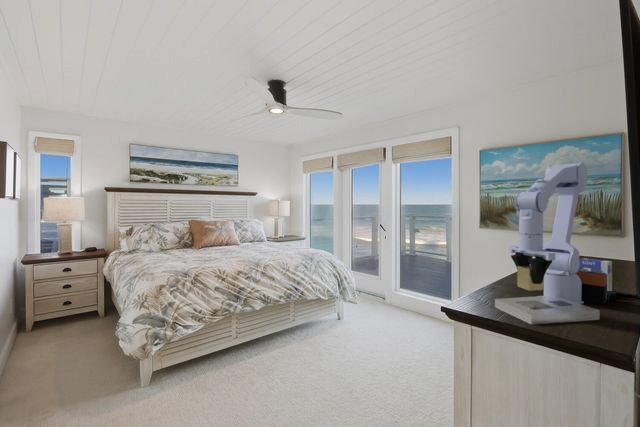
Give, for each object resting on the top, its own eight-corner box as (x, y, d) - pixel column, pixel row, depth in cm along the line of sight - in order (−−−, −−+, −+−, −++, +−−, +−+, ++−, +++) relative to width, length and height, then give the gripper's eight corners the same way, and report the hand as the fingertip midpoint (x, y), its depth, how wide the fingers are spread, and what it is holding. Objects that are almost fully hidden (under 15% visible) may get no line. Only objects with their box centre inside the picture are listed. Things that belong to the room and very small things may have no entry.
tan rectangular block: (531, 285, 94) (531, 265, 94) (544, 289, 89) (544, 268, 89) (517, 286, 93) (517, 265, 93) (529, 290, 89) (529, 268, 89)
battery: (604, 305, 97) (604, 272, 96) (576, 300, 102) (576, 269, 102) (607, 302, 100) (607, 270, 99) (579, 297, 105) (580, 267, 105)
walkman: (579, 292, 110) (579, 257, 110) (583, 291, 112) (583, 257, 111) (608, 298, 104) (608, 261, 103) (612, 296, 105) (612, 260, 104)
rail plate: (554, 303, 99) (554, 295, 99) (599, 319, 85) (599, 309, 85) (494, 307, 97) (494, 298, 96) (531, 324, 83) (531, 314, 83)
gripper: (500, 232, 98) (500, 276, 98) (538, 236, 83) (538, 288, 84) (521, 231, 98) (521, 275, 99) (562, 236, 84) (562, 287, 85)
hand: (530, 281), depth 91 cm, fingers closed on tan rectangular block, 4 cm apart
